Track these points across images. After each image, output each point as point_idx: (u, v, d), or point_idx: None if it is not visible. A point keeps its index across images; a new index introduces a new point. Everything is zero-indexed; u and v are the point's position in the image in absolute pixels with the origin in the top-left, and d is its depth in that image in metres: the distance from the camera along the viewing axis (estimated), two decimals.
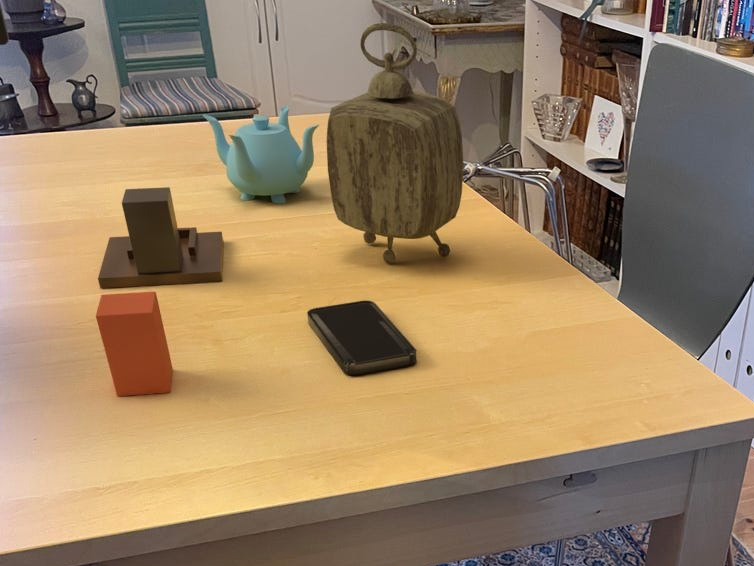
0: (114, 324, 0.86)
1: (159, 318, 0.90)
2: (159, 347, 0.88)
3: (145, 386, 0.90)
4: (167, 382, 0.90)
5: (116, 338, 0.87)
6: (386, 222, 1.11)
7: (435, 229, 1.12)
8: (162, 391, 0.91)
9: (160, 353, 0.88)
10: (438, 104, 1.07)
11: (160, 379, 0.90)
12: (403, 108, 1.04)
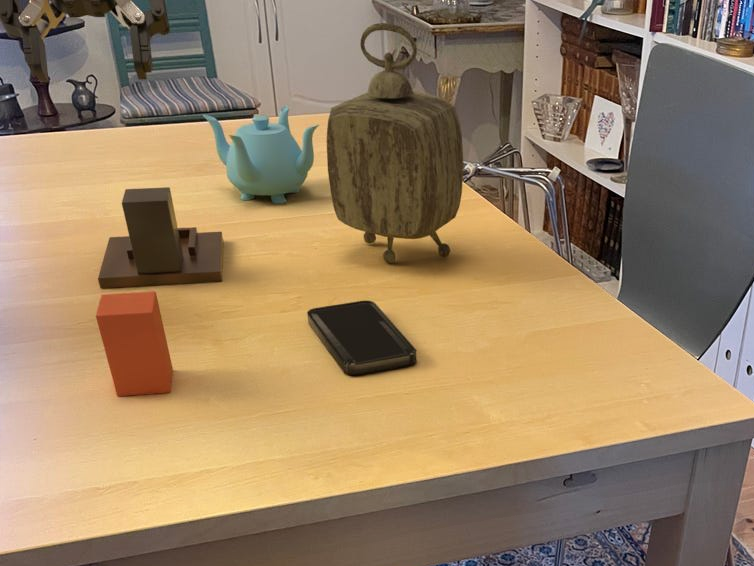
0: (114, 324, 0.86)
1: (159, 318, 0.90)
2: (159, 347, 0.88)
3: (145, 386, 0.90)
4: (167, 382, 0.90)
5: (116, 338, 0.87)
6: (386, 222, 1.11)
7: (435, 229, 1.12)
8: (162, 391, 0.91)
9: (160, 353, 0.88)
10: (438, 104, 1.07)
11: (160, 379, 0.90)
12: (403, 108, 1.04)
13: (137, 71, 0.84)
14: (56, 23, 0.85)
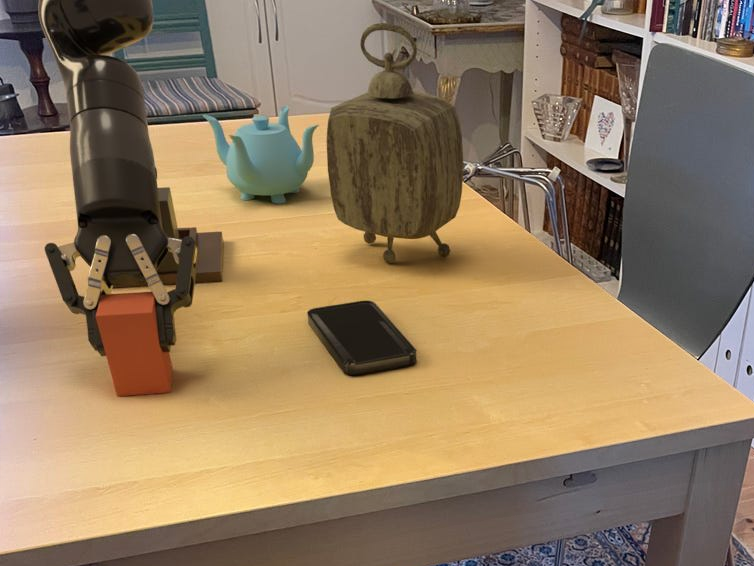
0: (114, 324, 0.86)
1: None
2: (159, 347, 0.88)
3: (145, 386, 0.90)
4: (167, 382, 0.90)
5: (116, 338, 0.87)
6: (386, 222, 1.11)
7: (435, 229, 1.12)
8: (162, 391, 0.91)
9: (160, 353, 0.88)
10: (438, 104, 1.07)
11: (160, 379, 0.90)
12: (403, 108, 1.04)
13: (162, 348, 0.88)
14: (110, 293, 0.90)
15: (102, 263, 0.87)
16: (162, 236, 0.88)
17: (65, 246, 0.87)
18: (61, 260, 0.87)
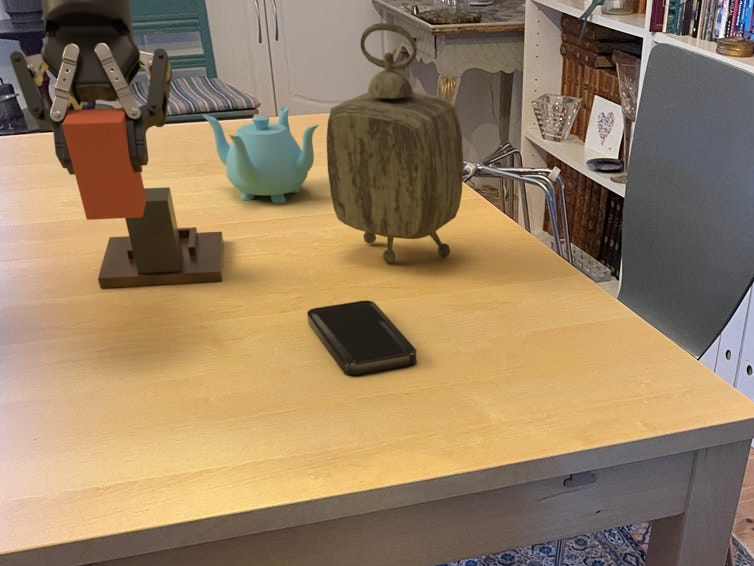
0: (82, 134, 0.82)
1: None
2: (129, 163, 0.84)
3: (116, 209, 0.86)
4: (138, 205, 0.86)
5: (84, 152, 0.83)
6: (386, 222, 1.11)
7: (435, 229, 1.12)
8: (134, 215, 0.87)
9: (131, 171, 0.84)
10: (438, 104, 1.07)
11: (132, 202, 0.86)
12: (403, 108, 1.04)
13: (133, 165, 0.84)
14: None
15: (70, 73, 0.83)
16: (133, 48, 0.84)
17: (32, 57, 0.84)
18: (27, 70, 0.83)
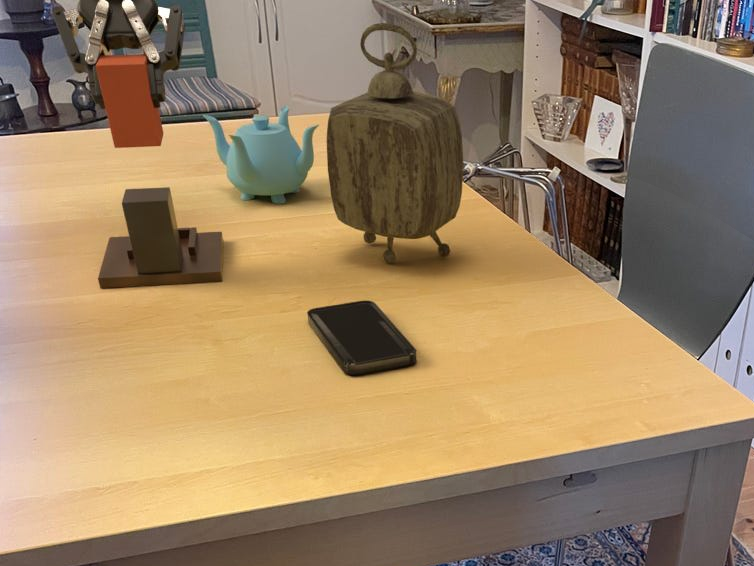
0: (112, 74, 0.99)
1: None
2: (150, 99, 1.02)
3: (139, 139, 1.04)
4: (157, 136, 1.04)
5: (113, 89, 1.00)
6: (386, 222, 1.11)
7: (435, 229, 1.12)
8: (153, 144, 1.04)
9: (151, 106, 1.02)
10: (438, 104, 1.07)
11: (152, 132, 1.04)
12: (403, 108, 1.04)
13: (153, 101, 1.02)
14: None
15: (101, 24, 1.00)
16: (153, 4, 1.02)
17: (69, 11, 1.01)
18: (66, 21, 1.00)
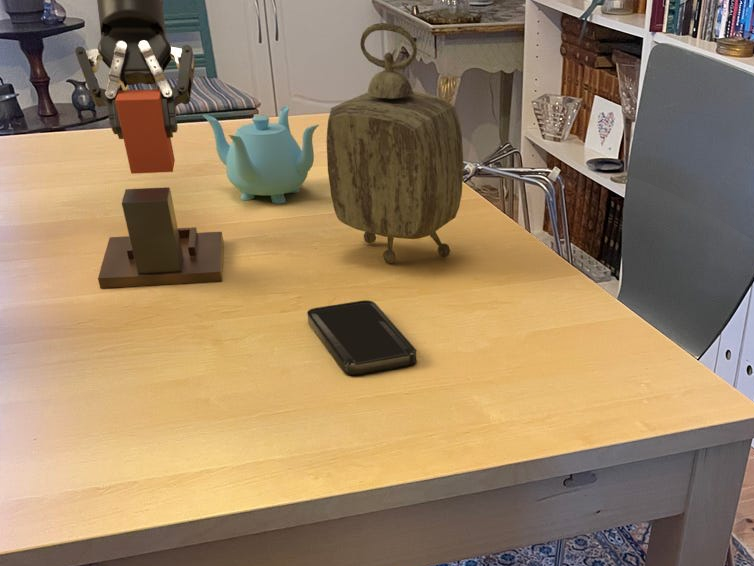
0: (129, 108, 1.10)
1: None
2: (164, 130, 1.12)
3: (153, 165, 1.14)
4: (170, 163, 1.15)
5: (131, 121, 1.11)
6: (386, 222, 1.11)
7: (435, 229, 1.12)
8: (166, 170, 1.15)
9: (165, 136, 1.13)
10: (438, 104, 1.07)
11: (165, 160, 1.14)
12: (403, 108, 1.04)
13: (166, 132, 1.13)
14: None
15: (120, 62, 1.11)
16: (167, 44, 1.13)
17: (91, 51, 1.12)
18: (88, 60, 1.11)
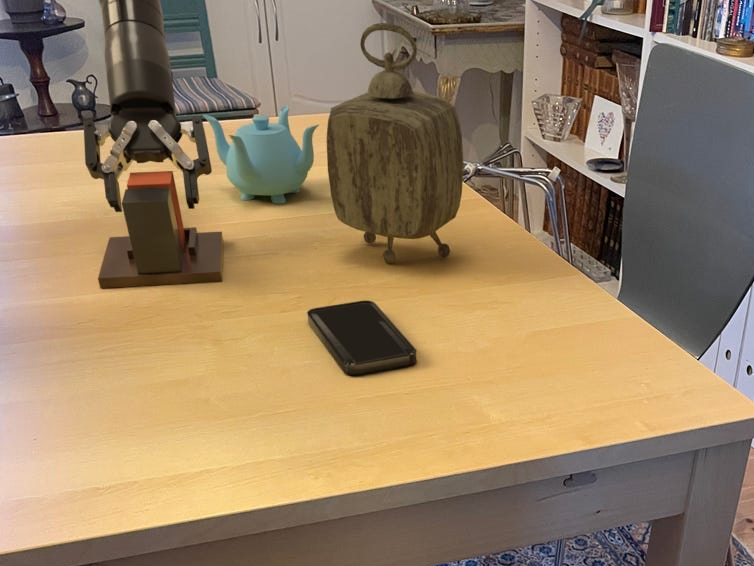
0: None
1: (175, 192, 1.14)
2: (175, 213, 1.12)
3: None
4: (181, 243, 1.15)
5: None
6: (386, 222, 1.11)
7: (435, 229, 1.12)
8: None
9: (176, 218, 1.13)
10: (438, 104, 1.07)
11: None
12: (403, 108, 1.04)
13: (188, 204, 1.13)
14: (127, 167, 1.14)
15: (125, 141, 1.11)
16: (176, 121, 1.12)
17: (100, 125, 1.12)
18: (93, 134, 1.11)
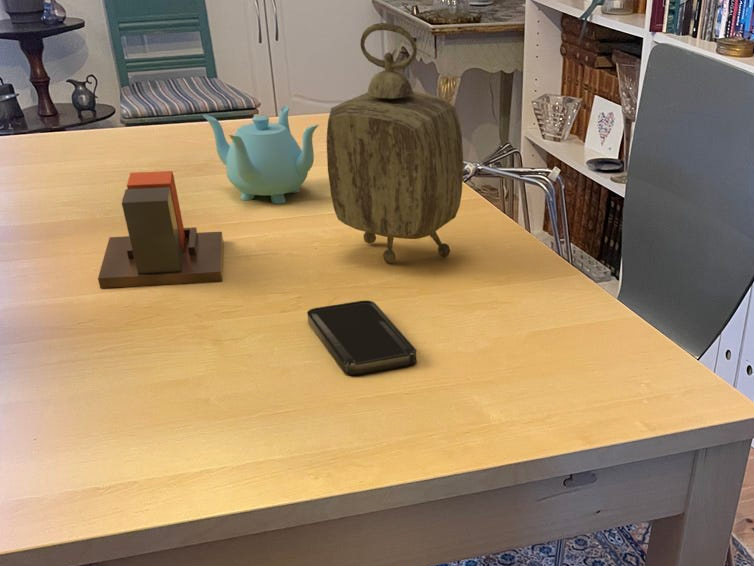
0: None
1: (175, 192, 1.14)
2: (175, 213, 1.12)
3: None
4: (181, 243, 1.15)
5: None
6: (386, 222, 1.11)
7: (435, 229, 1.12)
8: None
9: (176, 218, 1.13)
10: (438, 104, 1.07)
11: None
12: (403, 108, 1.04)
13: None
14: None
15: None
16: None
17: None
18: None
